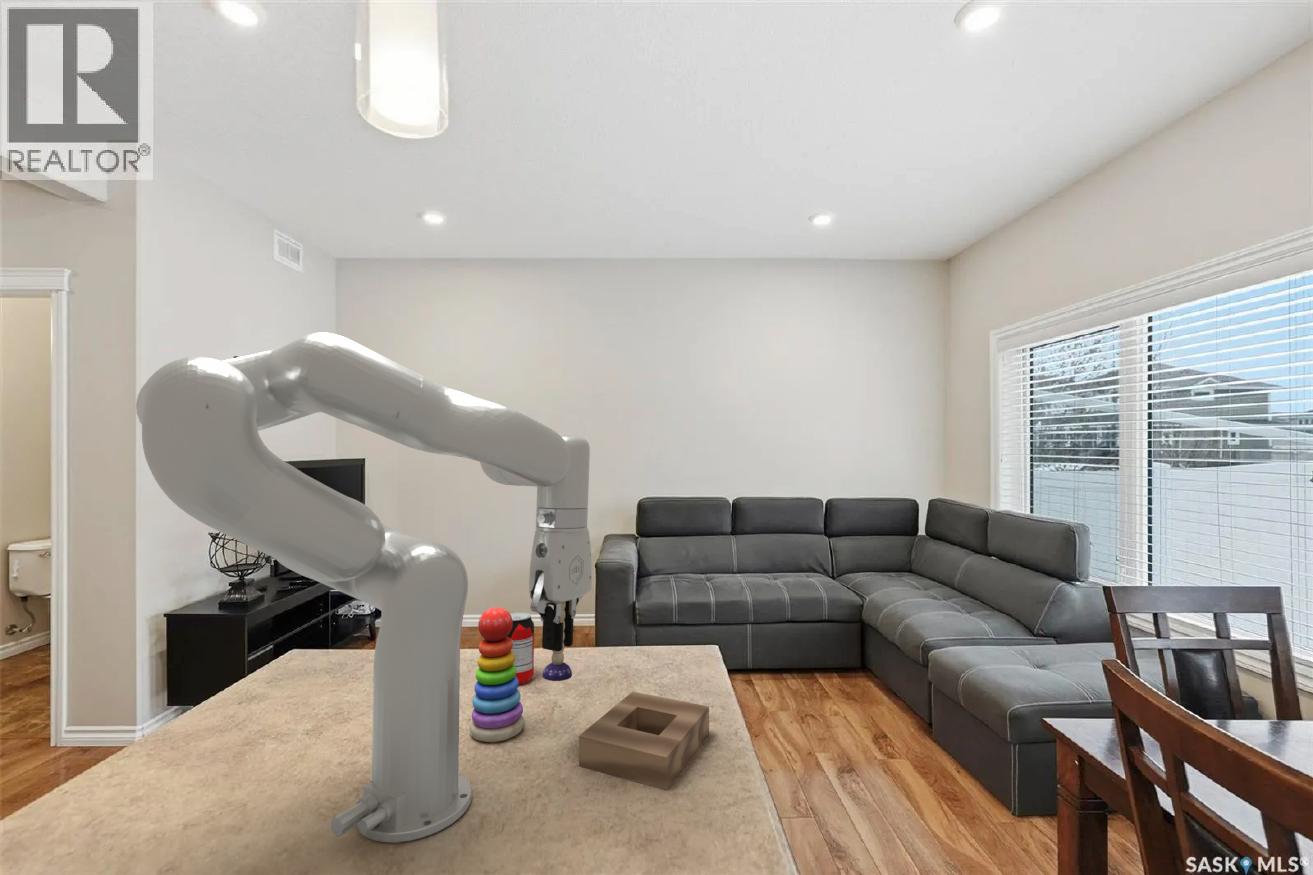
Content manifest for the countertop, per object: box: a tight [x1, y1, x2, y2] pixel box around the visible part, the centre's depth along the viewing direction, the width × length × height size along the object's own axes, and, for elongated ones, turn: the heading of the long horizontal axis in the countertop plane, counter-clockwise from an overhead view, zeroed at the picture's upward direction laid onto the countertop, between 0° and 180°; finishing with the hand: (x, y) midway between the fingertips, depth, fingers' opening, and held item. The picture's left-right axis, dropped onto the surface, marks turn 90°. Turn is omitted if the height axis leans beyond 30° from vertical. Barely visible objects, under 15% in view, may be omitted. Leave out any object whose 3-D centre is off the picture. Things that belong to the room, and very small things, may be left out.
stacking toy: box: [469, 606, 525, 743], centre depth 86 cm, size 8×8×19 cm
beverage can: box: [507, 611, 535, 685], centre depth 106 cm, size 6×6×12 cm
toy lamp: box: [541, 602, 573, 682], centre depth 82 cm, size 5×5×17 cm
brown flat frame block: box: [578, 691, 710, 791], centre depth 81 cm, size 16×13×4 cm
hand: (557, 646), depth 82 cm, fingers closed on toy lamp
